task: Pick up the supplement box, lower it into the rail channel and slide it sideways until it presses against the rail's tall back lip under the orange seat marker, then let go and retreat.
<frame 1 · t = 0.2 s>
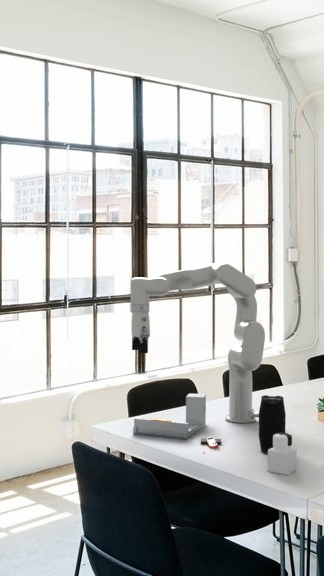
hand: (139, 351, 282), 31 cm above the table, tool pointing down, fingers open, 9 cm apart
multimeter: (215, 450, 254), on the table
supplement box: (195, 426, 287), on the table
rail: (167, 432, 276), on the table
portable speaker: (271, 452, 250), on the table
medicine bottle: (282, 471, 228), on the table
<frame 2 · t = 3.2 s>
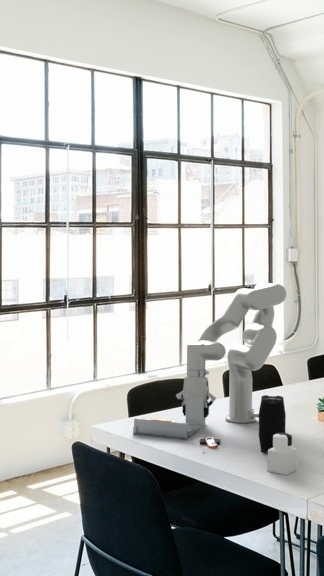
hand: (195, 415, 286), 4 cm above the table, tool pointing down, fingers closed on supplement box, 8 cm apart
supplement box: (195, 426, 287), on the table, touching gripper
everything else where it was.
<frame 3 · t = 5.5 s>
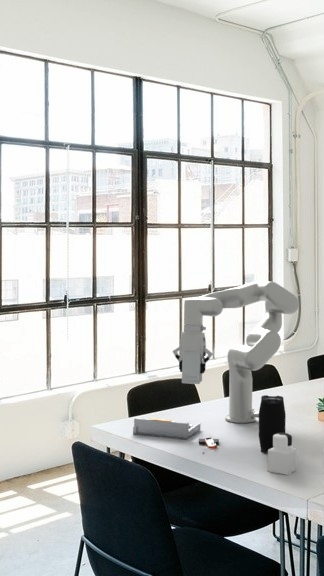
hand: (192, 372, 284), 22 cm above the table, tool pointing down, fingers closed on supplement box, 8 cm apart
supplement box: (192, 382, 285), point 18 cm above the table, touching gripper
everything else where it was.
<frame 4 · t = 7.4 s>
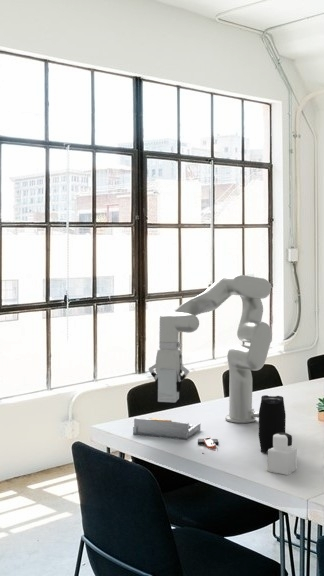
hand: (168, 390, 277), 16 cm above the table, tool pointing down, fingers closed on supplement box, 8 cm apart
supplement box: (168, 400, 277), point 12 cm above the table, touching gripper
everything else where it was.
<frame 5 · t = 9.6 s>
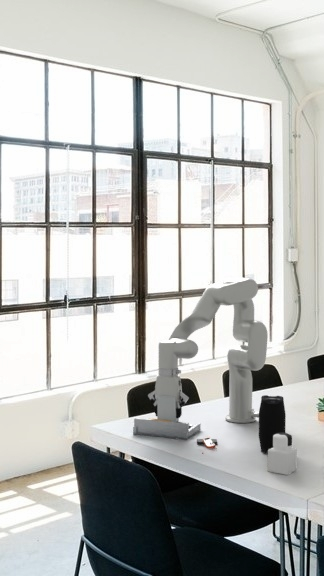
hand: (168, 416, 277), 6 cm above the table, tool pointing down, fingers closed on supplement box, 8 cm apart
supplement box: (168, 427, 277), point 2 cm above the table, touching gripper
everything else where it was.
when the fingers open (6 cm above the table, at t = 11.5 s): supplement box stays where it is, resting on rail.
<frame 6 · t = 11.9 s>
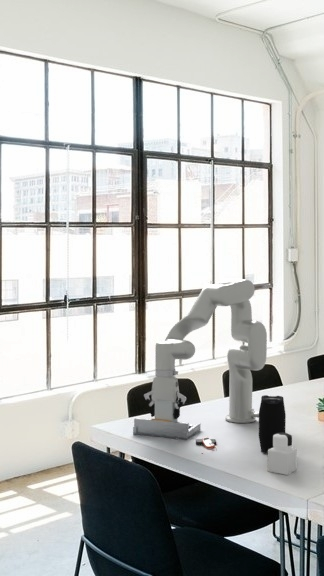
hand: (164, 417, 274), 6 cm above the table, tool pointing down, fingers open, 9 cm apart
supplement box: (166, 432, 274), point 1 cm above the table, touching rail
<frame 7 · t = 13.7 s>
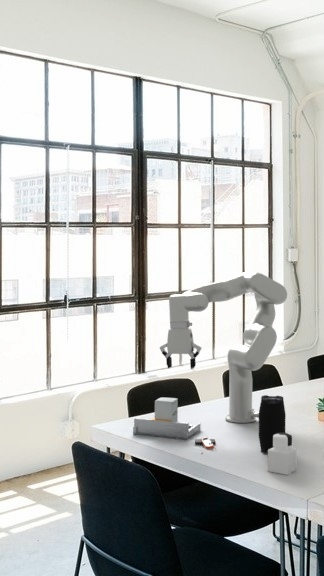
hand: (181, 367, 283), 24 cm above the table, tool pointing down, fingers open, 9 cm apart
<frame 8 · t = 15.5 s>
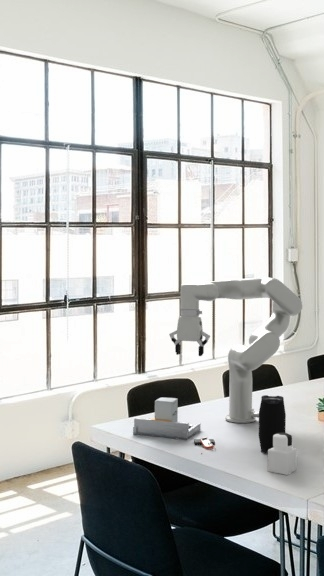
hand: (189, 355, 290), 28 cm above the table, tool pointing down, fingers open, 9 cm apart
at the end: supplement box inside the target area on the rail (0.9 cm from its centre), point 0.6 cm above the rail's base; supplement box tilted 0°; the gripper is holding nothing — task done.
